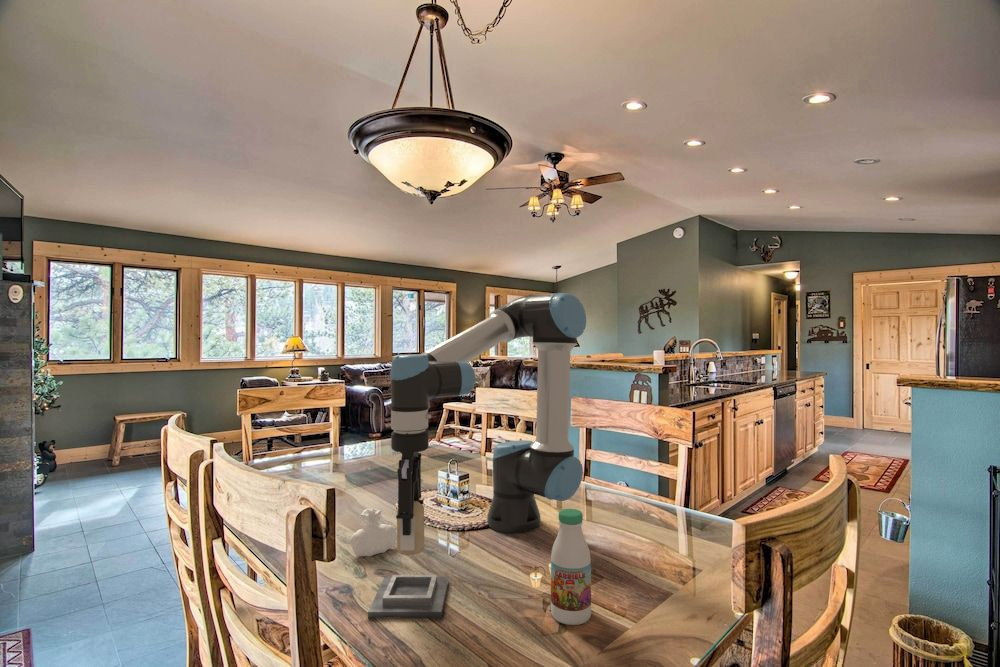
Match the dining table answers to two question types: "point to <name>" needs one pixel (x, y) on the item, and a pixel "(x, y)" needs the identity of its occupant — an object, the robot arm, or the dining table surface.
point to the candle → (419, 530)
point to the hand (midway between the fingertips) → (410, 542)
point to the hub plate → (410, 597)
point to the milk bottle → (570, 571)
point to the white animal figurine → (372, 535)
